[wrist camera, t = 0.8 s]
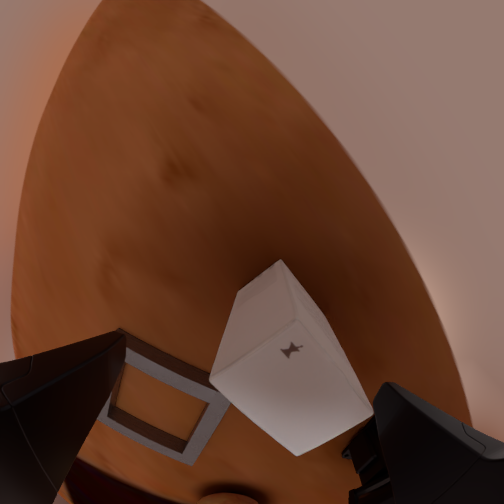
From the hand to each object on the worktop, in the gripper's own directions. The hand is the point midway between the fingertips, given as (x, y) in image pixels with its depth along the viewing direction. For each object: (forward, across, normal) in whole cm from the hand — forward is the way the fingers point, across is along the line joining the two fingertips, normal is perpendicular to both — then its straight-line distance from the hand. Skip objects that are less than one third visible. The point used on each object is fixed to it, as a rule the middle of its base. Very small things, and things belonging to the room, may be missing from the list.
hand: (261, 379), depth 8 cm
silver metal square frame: (+12, +6, +15) cm, 20 cm away
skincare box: (+13, -3, +2) cm, 13 cm away
